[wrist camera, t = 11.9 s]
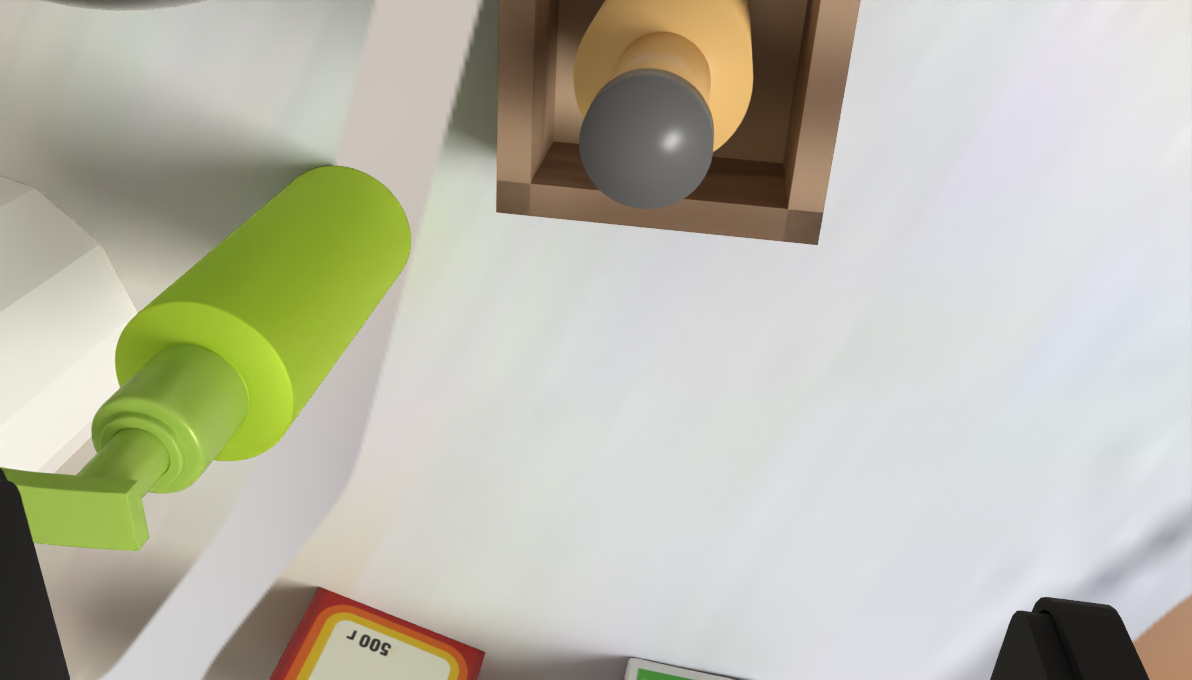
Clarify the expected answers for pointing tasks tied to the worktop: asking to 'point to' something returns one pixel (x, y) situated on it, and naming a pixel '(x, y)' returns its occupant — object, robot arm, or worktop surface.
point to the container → (52, 330)
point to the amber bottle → (660, 94)
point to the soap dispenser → (227, 354)
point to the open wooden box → (738, 168)
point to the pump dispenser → (124, 4)
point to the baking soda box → (370, 646)
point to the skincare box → (663, 672)
